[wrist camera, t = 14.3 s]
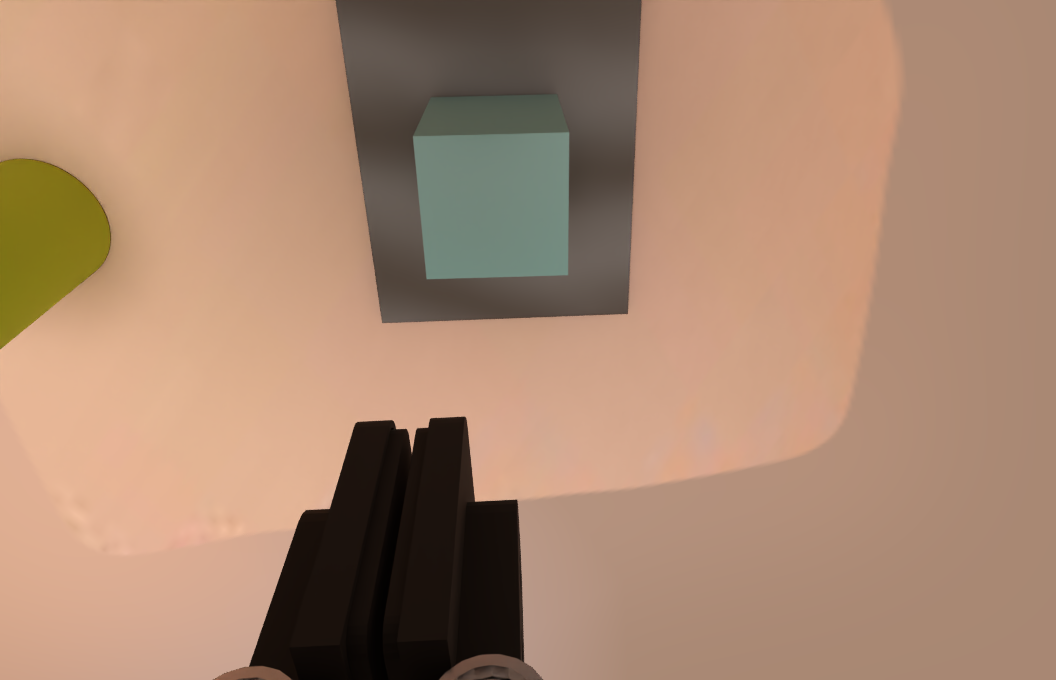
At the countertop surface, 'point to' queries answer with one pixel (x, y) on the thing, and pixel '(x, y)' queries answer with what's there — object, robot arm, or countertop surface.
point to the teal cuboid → (493, 186)
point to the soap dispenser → (44, 240)
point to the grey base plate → (495, 70)
